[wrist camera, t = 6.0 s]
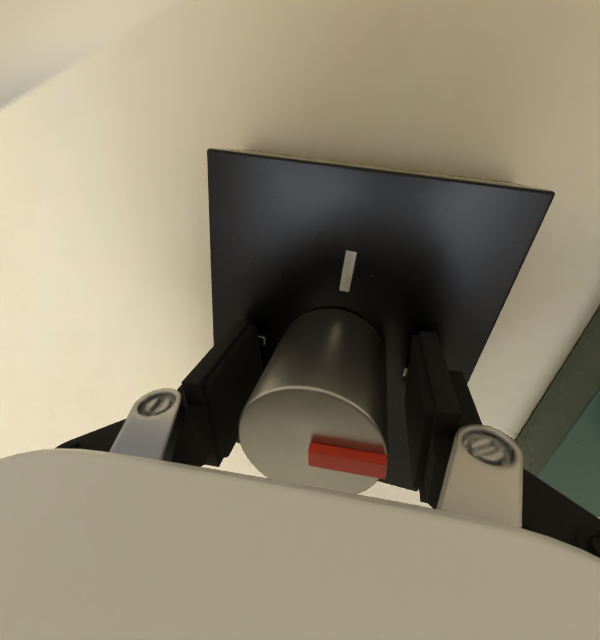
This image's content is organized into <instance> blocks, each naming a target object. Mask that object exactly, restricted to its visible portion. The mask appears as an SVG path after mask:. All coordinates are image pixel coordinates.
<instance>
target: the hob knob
mask: <svg viewBox="0 0 600 640" xmlns="http://www.w3.org/2000/svg"><path fill="white" fill-rule="evenodd" d="M238 436H239V441H240V444H241V447H242V449H243V451H244V453H245V454H246V456H247V458H248V459H249V460H250V462H251V463H252V464H253V465H254V466H255V467H256V468H257V469H258V470H259V471H260V472H261V473H262V474H263V475H265V476H266V477H267V478H269V479H273V480H278V481H284V482H290V483H295V484H301V485H307V486H312V487H318V488H324V489H329V490H335V491H340V492H346V493H351V494H358V493H361V492H363V491H365V490H367V489H368V488H370V487H371V486H373V485H374V484H375V483H376V482H377V481H378V480H379V479H385V478H386V472H387V465H388V462H387V461H388V412H387V366H386V350H385V346H384V343H383V341H382V339H381V337H380V335H379V334H378V332H377V331H376V330H375V329H374V327H373V326H372V325H371V324H369V323H368V322H367V321H366V320H364V319H363V318H361V317H360V316H358V315H356V314H354V313H351V312H348V311H345V310H341V309H333V308H325V309H318V310H313V311H310V312H308V313H305V314H303V315H301V316H300V317H298V318H297V319H296V320H294V321H293V322H292V323H291V324H290V326H289V327H288V329H287V330H286V332H285V334H284V336H283V337H282V339H281V341H280V343H279V345H278V346H277V348H276V350H275V352H274V354H273V356H272V357H271V359H270V361H269V363H268V365H267V366H266V368H265V370H264V372H263V374H262V375H261V377H260V379H259V381H258V383H257V385H256V386H255V388H254V390H253V392H252V394H251V395H250V397H249V399H248V401H247V403H246V405H245V406H244V408H243V410H242V412H241V414H240V418H239V421H238Z"/></svg>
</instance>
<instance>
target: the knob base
mask: <svg viewBox="0 0 600 640" xmlns="http://www.w3.org/2000/svg"><path fill="white" fill-rule="evenodd" d="M207 161H208V190H209V219H210V249H211V278H212V307H213V336H214V345H215V344H216V343H217V342H218V341H219V340H220V339H221V337H222V336H223V335H224V334H225V333H226V332H227V331H228V330H229V328H230V327H231V326H232V325H233V324H234V323H235V322H236V321H251V322H252V324H253V325H256V327H257V331H258V339H259V346H260V354H261V361H262V369H263V372H264V370H265V368H266V366H267V365H268V363H269V361H270V359H271V357H272V356H273V354H274V352H275V350H276V348H277V346H278V345H279V343H280V341H281V339H282V337H283V336H284V334H285V332H286V330H287V329H288V327H289V326H290V324H291V323H292V322H293V321H294V320H296V319H297V318H298V317H300V316H301V315H303V314H305V313H308V312H310V311H313V310H318V309H325V308H333V309H341V310H345V311H348V312H351V313H354V314H356V315H358V316H360V317H361V318H363V319H364V320H366V321H367V322H368V323H369V324H371V325H372V326H373V327H374V329H375V330H376V331H377V332H378V334H379V335H380V337H381V339H382V341H383V343H384V346H385V350H386V366H387V412H388V461H387V462H388V465H387V472H386V478H385V479H379V480H378V481H380V482H384V483H387V484H391V485H395V486H398V487H402V488H406V489H409V490H413V491H418V489H414V488H413V487H412V479H411V468H410V457H409V447H408V436H407V425H406V414H405V390H406V382H407V373H408V365H409V357H410V348H411V340H412V335H418V333H419V331H425V332H436V333H437V336H438V339H439V342H440V345H441V348H442V352H443V355H444V358H445V361H446V364H447V368H448V370H453V371H461V372H462V373H463V375H464V378H465V380H466V383H468V381H469V379H470V377H471V374H472V372H473V370H474V368H475V366H476V364H477V362H478V359H479V357H480V355H481V353H482V351H483V349H484V346H485V344H486V342H487V340H488V338H489V336H490V333H491V331H492V329H493V327H494V325H495V323H496V321H497V318H498V316H499V314H500V312H501V310H502V308H503V305H504V303H505V301H506V299H507V297H508V295H509V292H510V290H511V288H512V286H513V284H514V282H515V280H516V277H517V275H518V273H519V271H520V269H521V267H522V264H523V262H524V260H525V258H526V256H527V254H528V251H529V249H530V247H531V245H532V243H533V241H534V239H535V236H536V234H537V232H538V230H539V228H540V226H541V223H542V221H543V219H544V217H545V215H546V213H547V210H548V208H549V206H550V204H551V202H552V200H553V198H554V195H555V192H553V191H550V190H545V189H540V188H535V187H530V186H525V185H520V184H515V183H508V182H500V181H492V180H483V179H475V178H467V177H459V176H451V175H443V174H435V173H427V172H419V171H411V170H402V169H394V168H386V167H378V166H370V165H362V164H354V163H346V162H338V161H329V160H321V159H313V158H305V157H297V156H289V155H281V154H273V153H265V152H257V151H248V150H234V149H213V148H210V149H208V150H207ZM236 442H237V443H240V441H239V437H238V439H237V441H236Z"/></svg>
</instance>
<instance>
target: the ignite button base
mask: <svg viewBox="0 0 600 640" xmlns="http://www.w3.org/2000/svg"><path fill="white" fill-rule="evenodd" d="M515 442H516V443H517V445H518V446H519V448H520V450H521V451H522V456H523V468H524V469H525V470H527V471H528V472H530V473H531V474H533V475H534V476H536V477H537V478H539V479H540V480H542V481H543V482H545V483H546V484H548V485H549V486H551V487H552V488H554V489H555V490H557V491H558V492H560V493H561V494H563V495H564V496H566V497H567V498H569V499H570V500H572V501H573V502H575V503H576V504H578V505H579V506H581V507H582V508H584V509H585V510H587V511H588V512H590V513H591V514H593V515H594V516H596V517H600V308H599V310H598V311H597V313H596V314H595V316H594V317H593V319H592V321H591V322H590V324H589V325H588V327H587V329H586V330H585V332H584V333H583V335H582V337H581V338H580V340H579V341H578V343H577V344H576V346H575V348H574V349H573V351H572V352H571V354H570V356H569V357H568V359H567V360H566V362H565V363H564V365H563V367H562V368H561V370H560V371H559V373H558V375H557V376H556V378H555V379H554V381H553V383H552V384H551V386H550V387H549V389H548V390H547V392H546V394H545V395H544V397H543V398H542V400H541V402H540V403H539V405H538V406H537V408H536V409H535V411H534V413H533V414H532V416H531V417H530V419H529V421H528V422H527V424H526V425H525V427H524V429H523V430H522V432H521V433H520V435H519V436H518V438H517V440H516V441H515Z"/></svg>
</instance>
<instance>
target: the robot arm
mask: <svg viewBox="0 0 600 640" xmlns="http://www.w3.org/2000/svg"><path fill="white" fill-rule="evenodd" d="M262 374H263V369H262V361H261V354H260V346H259V339H258V331H257V327H256V325H253V324H252V322H251V321H236V322H235V323H234V324H233V325H232V326H231V327H230V328H229V330H228V331H227V332H226V333H225V334H224V335H223V336H222V337H221V339H220V340H219V341H218V342H217V343H216V344H215V345H214V346H213V348H212V349H211V350H210V351H209V352H208V353H207V354H206V355H205V357H204V358H203V359H202V360H201V361H200V362H199V363H198V364H197V366H196V367H195V368H194V369H193V370H192V371H191V372H190V373H189V375H188V376H187V377H186V378H185V379H184V380H183V381H182V382H181V383H182V385H181V386H180V387H179V388H178V390H175V389H171V388H163V389H158V390H155V391H152V392H149V393H147V394H146V395H144V396H142V397H141V398H140V399H139V400H137V401H136V403H135V404H134V405H133V407H132V409H131V411H130V413H129V415H128V417H127V419H124V420H122V421H119V422H116V423H114V424H111V425H109V426H106V427H103V428H101V429H98V430H96V431H93V432H90V433H88V434H85V435H83V436H80V437H77V438H75V439H72V440H70V441H67V442H65V443H63V444H61V445H59V446H58V447H56V448H55V449H44V450H37V451H31V452H26V453H20V454H15V455H12V456H8V457H5V458H2V459H0V640H600V519H599V518H597V517H596V516H594V515H593V514H591V513H590V512H588V511H587V510H585V509H584V508H582V507H581V506H579V505H578V504H576V503H575V502H573V501H572V500H570V499H569V498H567V497H566V496H564V495H563V494H561V493H560V492H558V491H557V490H555V489H554V488H552V487H551V486H549V485H548V484H546V483H545V482H543V481H542V480H540V479H539V478H537V477H536V476H534V475H533V474H531V473H530V472H528V471H527V470H525V469H524V468H523V456H522V451H521V450H520V448H519V446H518V445H517V443H516V442H514V441H513V440H512V439H511V438H510V437H509V436H508V435H506V434H504V433H503V432H501V431H499V430H497V429H495V428H492V427H490V426H485V425H482V423H481V420H480V418H479V415H478V412H477V410H476V407H475V404H474V402H473V399H472V396H471V394H470V391H469V388H468V386H467V383H466V380H465V378H464V375H463V373H462V372H461V371H453V370H448V368H447V364H446V361H445V358H444V355H443V352H442V348H441V345H440V342H439V339H438V336H437V333H436V332H425V331H419V333H418V335H412V340H411V348H410V357H409V365H408V373H407V382H406V390H405V414H406V425H407V436H408V447H409V457H410V468H411V479H412V487H413V488H414V489H419V492H420V501H421V502H424V503H428V504H429V505H430V506H431V507H432V508H433V509H432V508H427V507H422V506H417V505H412V504H406V503H401V502H395V501H390V500H384V499H379V498H373V497H368V496H362V495H357V494H351V493H346V492H340V491H335V490H329V489H324V488H318V487H312V486H307V485H301V484H295V483H290V482H284V481H278V480H273V479H267V478H261V477H256V476H250V475H244V474H239V473H233V472H227V471H221V470H216V469H210V468H204V467H201V466H203V465H211V466H216V467H219V466H220V464H221V462H222V460H223V458H224V457H228V456H229V454H230V453H231V451H232V449H233V447H234V445H235V443H236V441H237V439H238V437H239V436H238V421H239V418H240V414H241V412H242V410H243V408H244V406H245V405H246V403H247V401H248V399H249V397H250V395H251V394H252V392H253V390H254V388H255V386H256V385H257V383H258V381H259V379H260V377H261V375H262Z"/></svg>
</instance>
